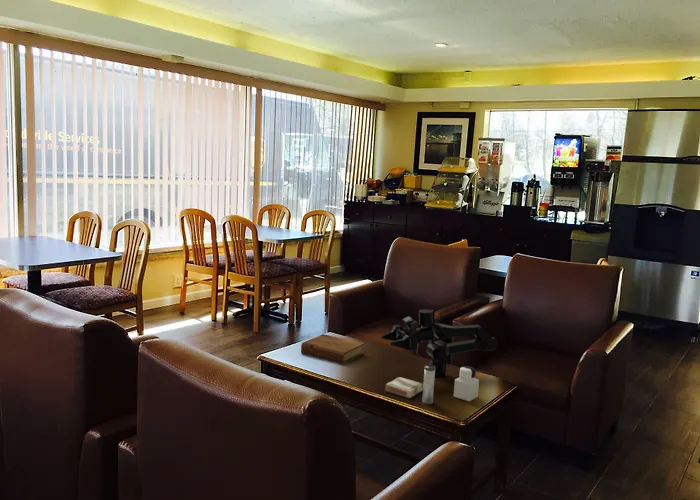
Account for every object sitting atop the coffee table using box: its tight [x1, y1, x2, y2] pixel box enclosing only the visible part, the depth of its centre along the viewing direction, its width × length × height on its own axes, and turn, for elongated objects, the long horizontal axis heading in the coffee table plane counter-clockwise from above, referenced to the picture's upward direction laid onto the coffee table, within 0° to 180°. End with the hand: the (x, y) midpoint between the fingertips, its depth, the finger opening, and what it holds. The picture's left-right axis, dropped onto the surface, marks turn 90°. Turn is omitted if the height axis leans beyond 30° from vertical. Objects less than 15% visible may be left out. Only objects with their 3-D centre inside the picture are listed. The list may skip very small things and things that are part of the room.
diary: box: [300, 333, 365, 365], centre depth 270 cm, size 23×19×6 cm
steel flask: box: [421, 364, 436, 405], centre depth 218 cm, size 4×4×14 cm
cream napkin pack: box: [384, 376, 424, 399], centre depth 229 cm, size 11×11×3 cm
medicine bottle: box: [453, 365, 480, 402], centre depth 226 cm, size 7×7×12 cm
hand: (386, 340), depth 239 cm, fingers open, 9 cm apart
